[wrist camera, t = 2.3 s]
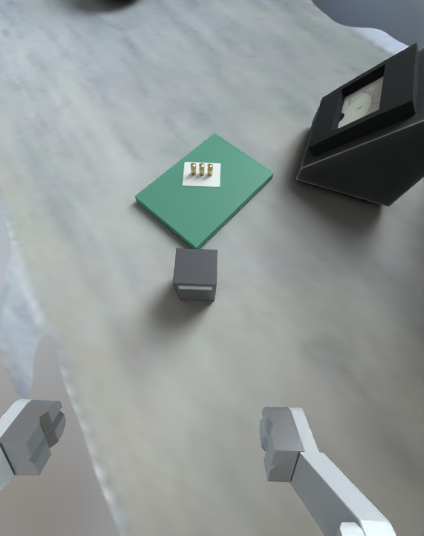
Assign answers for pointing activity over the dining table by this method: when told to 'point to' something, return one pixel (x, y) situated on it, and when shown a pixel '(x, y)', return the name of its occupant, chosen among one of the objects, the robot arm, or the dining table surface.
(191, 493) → the dining table surface
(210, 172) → the header pins
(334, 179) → the voltmeter
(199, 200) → the header board
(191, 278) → the block
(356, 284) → the dining table surface
